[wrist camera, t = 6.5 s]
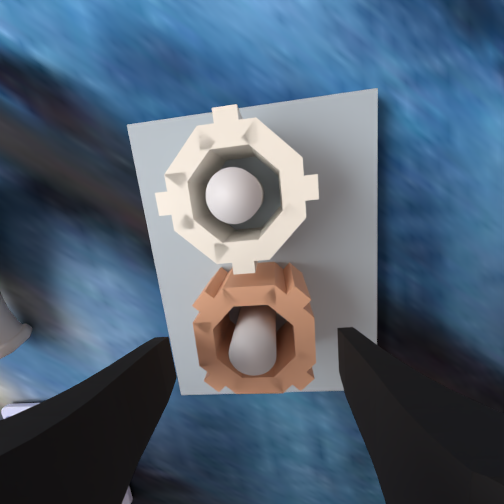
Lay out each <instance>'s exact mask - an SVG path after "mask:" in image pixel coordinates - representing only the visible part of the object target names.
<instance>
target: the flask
mask: <svg viewBox="0 0 504 504" xmlns="http://www.w3.org/2000/svg"><path fill="white" fill-rule="evenodd" d="M31 332H32V327H31V326H30V325H28V324H26V323H25V324H21V323H20V322H19V321H18V320H17V319H16V317H15V316H14V315H13V313H12V312H11V311H10V310H9V308H8V307H7V305H6V303H5V301H4V299H3V297H2V295H1V293H0V359H1V358H3V357H5V356H7V355H8V354H10V353H12V352H13V351H15V350H16V349H17V348H18V347H19V346H20V345H21V344H23V343H24V342H25V341H26V340H27V339H28V338H29V337H30V335H31Z"/></svg>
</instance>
